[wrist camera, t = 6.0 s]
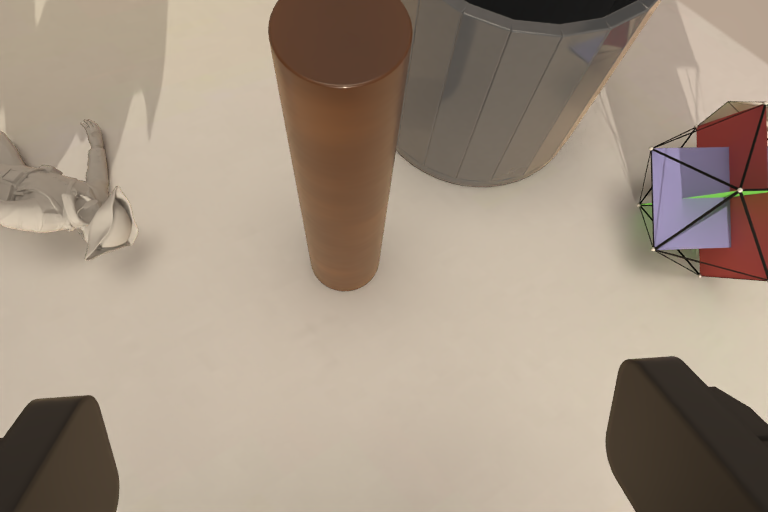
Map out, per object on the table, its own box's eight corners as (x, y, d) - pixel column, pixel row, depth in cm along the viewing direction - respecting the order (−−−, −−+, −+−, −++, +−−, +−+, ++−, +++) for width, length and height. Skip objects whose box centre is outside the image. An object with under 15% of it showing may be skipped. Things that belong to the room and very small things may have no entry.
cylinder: (317, 297, 24) (281, 98, 11) (304, 234, 25) (256, -19, 12) (386, 283, 25) (429, 73, 11) (370, 221, 26) (394, -37, 12)
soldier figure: (-1, 90, 28) (192, 120, 24) (14, 187, 30) (196, 231, 25) (-208, 99, 21) (9, 143, 17) (-173, 223, 23) (32, 292, 19)
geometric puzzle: (830, 324, 23) (938, 134, 18) (667, 332, 22) (738, 137, 18) (724, 234, 29) (787, 75, 24) (594, 238, 28) (635, 76, 24)
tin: (399, 205, 26) (429, 57, 17) (352, 33, 29) (355, -172, 20) (600, 166, 27) (732, 9, 18) (534, 6, 30) (616, -198, 21)
